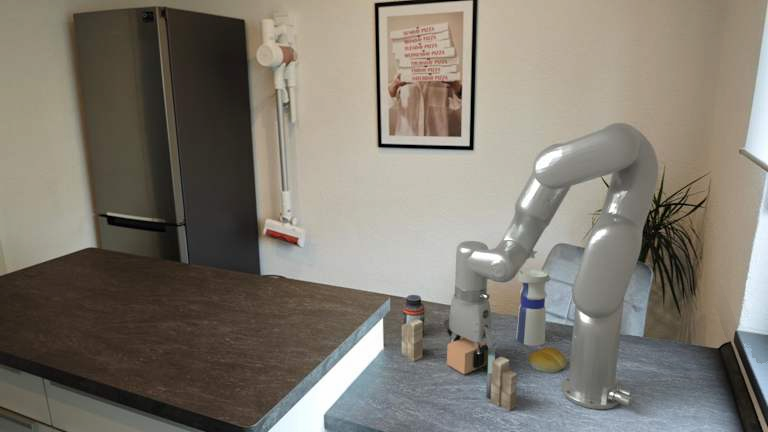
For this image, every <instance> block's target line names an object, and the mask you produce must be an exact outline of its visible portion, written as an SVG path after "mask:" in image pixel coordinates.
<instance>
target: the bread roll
mask: <svg viewBox="0 0 768 432" xmlns="http://www.w3.org/2000/svg"><path fill="white" fill-rule="evenodd" d="M527 360H528V363H529V365H530V366H531V368H533V369H534V370H536V371H539V372H542V373H558V372H560V371H561V370H564V369H565V368H566V366H567V363H568V362H567V359H566V357H565V355H564V354H563V353H562V352H561V351H560V350H559V349H557V348H554V347H547V346H546V347H542V348H541V349H539V350H536V351H533V352H531V353H530V354H529V355H528V359H527Z"/></svg>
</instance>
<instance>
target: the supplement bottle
mask: <svg viewBox="0 0 768 432" xmlns="http://www.w3.org/2000/svg"><path fill="white" fill-rule="evenodd" d="M405 302H406V303H404V304H403V307H402V325H404V324H407V323H408V322H410V321H412V320H415V319H418V320H420V321H422V322H423V330H422V337H423V336H424V335H425V306H424V304H423V303H422V297H421V296H420V295H418V294H409V295H407V297H406V301H405Z"/></svg>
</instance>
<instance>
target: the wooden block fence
mask: <svg viewBox="0 0 768 432" xmlns="http://www.w3.org/2000/svg"><path fill="white" fill-rule="evenodd" d="M422 330H423V322H422V321H420V320H418V319H415V320H412V321H410V322H408V323H407V324H404V325H403V324H402V325H401V354H402V355H403V356H405V357H407V359H408V360H409V361H412V362H416V361H418V360H421V359H422V358H423V336H422ZM517 385H518V373H516V372H514V371H512V370H510V360H509V359H508V358H506V357H503V356H499V357H497V358H495V360H493V361H492V381H491V398H490V403H491V404H493V405H494V404H495V406H496V407H497V408H498V407H500V408H503V409H504V410H507V411H508V412H510V411H512V410H514V409H516V403H517V402H516V400H517Z"/></svg>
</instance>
